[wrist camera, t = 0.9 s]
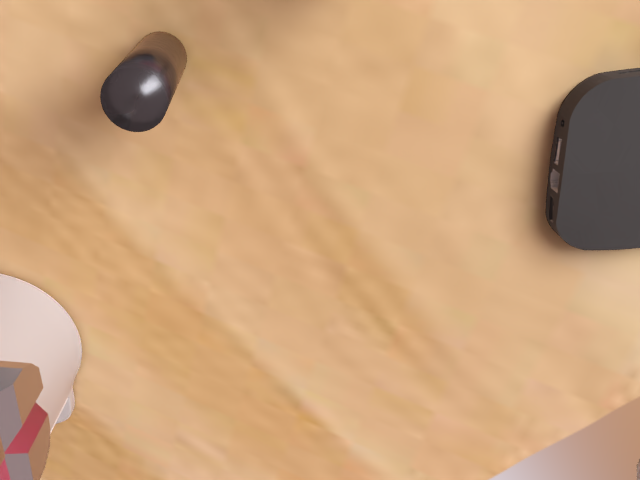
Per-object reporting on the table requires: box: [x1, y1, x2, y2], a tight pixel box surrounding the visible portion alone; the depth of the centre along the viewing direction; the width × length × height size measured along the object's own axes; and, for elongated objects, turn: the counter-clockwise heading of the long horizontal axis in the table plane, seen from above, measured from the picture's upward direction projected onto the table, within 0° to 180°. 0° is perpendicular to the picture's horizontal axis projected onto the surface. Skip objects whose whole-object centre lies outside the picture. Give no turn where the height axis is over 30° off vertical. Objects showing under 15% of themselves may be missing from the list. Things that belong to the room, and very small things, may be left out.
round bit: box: [101, 32, 187, 132], centre depth 38 cm, size 3×3×12 cm
